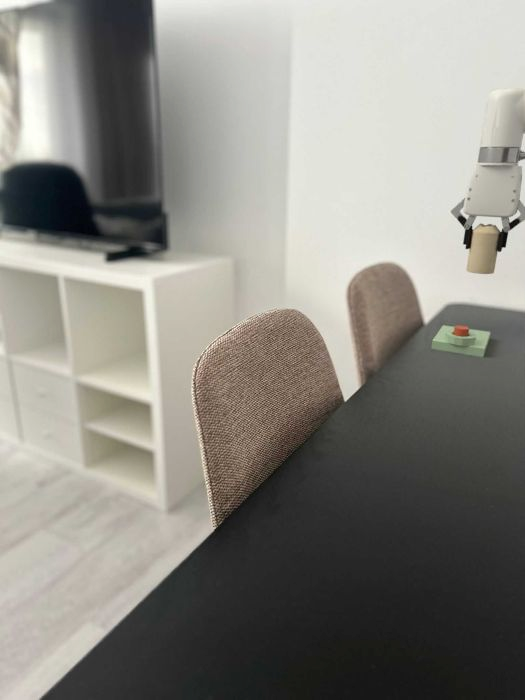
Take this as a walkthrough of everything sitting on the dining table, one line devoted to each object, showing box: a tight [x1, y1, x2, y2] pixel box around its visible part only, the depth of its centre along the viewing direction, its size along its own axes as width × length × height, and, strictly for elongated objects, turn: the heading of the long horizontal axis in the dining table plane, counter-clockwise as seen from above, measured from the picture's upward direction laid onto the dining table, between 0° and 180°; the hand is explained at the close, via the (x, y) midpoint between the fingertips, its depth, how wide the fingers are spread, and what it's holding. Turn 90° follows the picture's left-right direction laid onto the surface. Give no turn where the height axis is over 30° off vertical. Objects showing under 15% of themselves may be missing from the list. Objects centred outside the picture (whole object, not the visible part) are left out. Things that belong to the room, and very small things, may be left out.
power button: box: [453, 325, 470, 337], centre depth 104 cm, size 3×3×2 cm
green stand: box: [431, 324, 491, 358], centre depth 108 cm, size 10×14×4 cm
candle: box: [466, 223, 501, 275], centre depth 108 cm, size 6×6×10 cm
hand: (483, 248), depth 108 cm, fingers closed on candle, 5 cm apart
